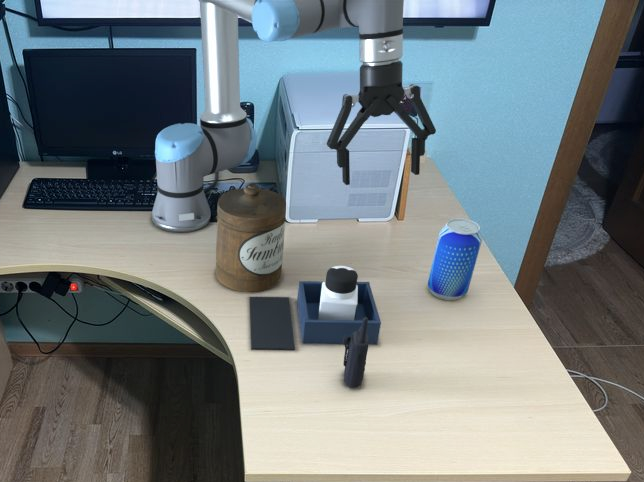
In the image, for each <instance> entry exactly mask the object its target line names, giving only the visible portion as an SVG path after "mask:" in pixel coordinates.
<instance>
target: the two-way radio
mask: <svg viewBox="0 0 644 482" xmlns="http://www.w3.org/2000/svg"><path fill="white" fill-rule="evenodd" d="M367 322H368V318H367V317H364V318H363V322H362V326H361V327H360V328H359V331H356V332H353V333H352V335H351V336H350V338H349V337H348V336H344V338H343V343H344V344H343V345H344V355H343V363H342V364H343V366H344V371H343V381H344V384H345V385H346V386H348V387H350V388H360V387H361V386H362V383H363V380H364V374H365V371H366V364H367V358H368V357H367V356H368V351H369V346H370V344H369V337H368V334H367V333H366V330H367Z"/></svg>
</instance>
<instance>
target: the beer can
mask: <svg viewBox="0 0 644 482" xmlns="http://www.w3.org/2000/svg"><path fill="white" fill-rule="evenodd" d="M438 233H439V234H438V238H437V242H436V246H435V250H434V254H433V259H432V263H431V268H430V271H429V275H428V280H427V288H428V289H429V291H430V293H431V294H432V295H433V296H434V297H436V298H438V299H441V300H445V301H455V300H459V299H461V298H462V297H463V296H465V295H466V294H467V293H468V291H469V288H470V284H471V281H472V277H473V274H474V270H475V267H476V264H477V259H478V257H479V253H480V249H481V246H482V242H483V236H482V232H481V226H480V224H479V223H478V222H476V221H474V220H472V219H468V218H463V217H455V218H450V219H449V220H448V221H447V222H446V224H445V226H443V227H442V228H441V229H440V231H439V232H438Z"/></svg>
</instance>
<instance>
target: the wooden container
mask: <svg viewBox="0 0 644 482" xmlns="http://www.w3.org/2000/svg"><path fill="white" fill-rule="evenodd" d="M216 208H217V209H216V212H217V214H216V215H217V217H216V218H217V221H216V222H217V223H216V245H215V246H216V248H215V253H216V254H215V261H216V262H215V276H216V279H217V280H218V282H219V283H220V284H221V285H223V286H225V287H226V288H228V289H230V290H233V291H237V292H244V293H257V292H263V291H266V290H269V289H271V288H273V287H274V286H276V285H277V284H278V283H279V282H280V280H281V278H282V272H283V271H282V269H283V261H284V247H285V246H284V245H285V229H286V228H285V227H286V214H287V201H286V199H285V198H284V197H283V196H282V195H281V194H280V193H278V192H275V191H273V190H271V189H266V188H261V187H260V186H259V185H257V184H256V183H249V184H247V185H245V186H244V187H241V188H235V189H231V190H229V191H227V192H225V193H223V194H221V196H219V198H218V200H217V207H216Z"/></svg>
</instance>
